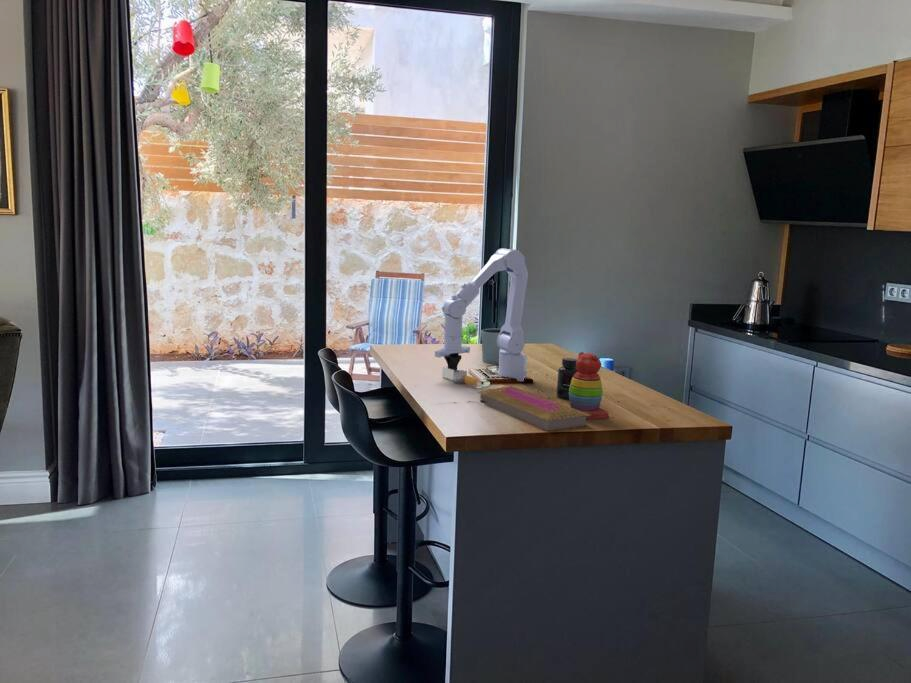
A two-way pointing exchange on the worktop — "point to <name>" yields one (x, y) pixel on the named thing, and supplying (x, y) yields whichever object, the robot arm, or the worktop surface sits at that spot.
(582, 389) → the stacking bear
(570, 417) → the rafter model
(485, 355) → the grey cylinder
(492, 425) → the worktop surface
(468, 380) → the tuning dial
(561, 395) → the supplement bottle
